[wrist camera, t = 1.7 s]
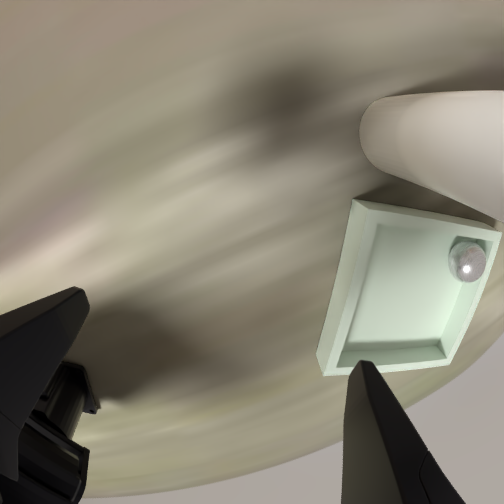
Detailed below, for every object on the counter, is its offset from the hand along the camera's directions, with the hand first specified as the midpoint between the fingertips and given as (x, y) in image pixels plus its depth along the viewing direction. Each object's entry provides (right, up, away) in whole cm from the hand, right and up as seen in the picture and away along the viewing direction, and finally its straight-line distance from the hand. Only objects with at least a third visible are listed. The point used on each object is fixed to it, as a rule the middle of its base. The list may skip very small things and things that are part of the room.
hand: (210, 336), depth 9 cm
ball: (+17, +2, +12) cm, 21 cm away
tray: (+13, 0, +14) cm, 19 cm away
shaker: (+10, +10, +9) cm, 17 cm away
